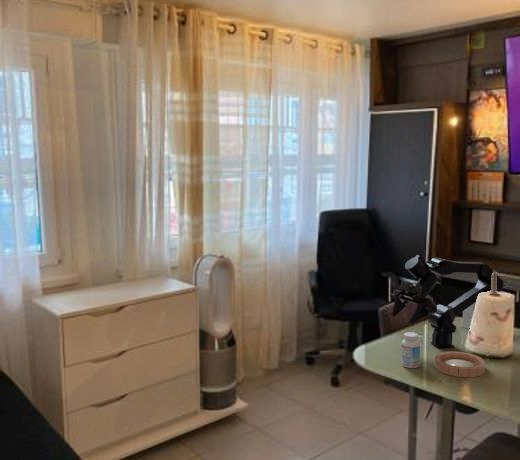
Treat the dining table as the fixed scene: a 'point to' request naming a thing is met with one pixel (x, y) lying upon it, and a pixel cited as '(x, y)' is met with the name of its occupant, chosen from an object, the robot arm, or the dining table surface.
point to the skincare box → (467, 316)
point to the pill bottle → (410, 350)
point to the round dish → (459, 364)
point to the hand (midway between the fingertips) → (401, 319)
